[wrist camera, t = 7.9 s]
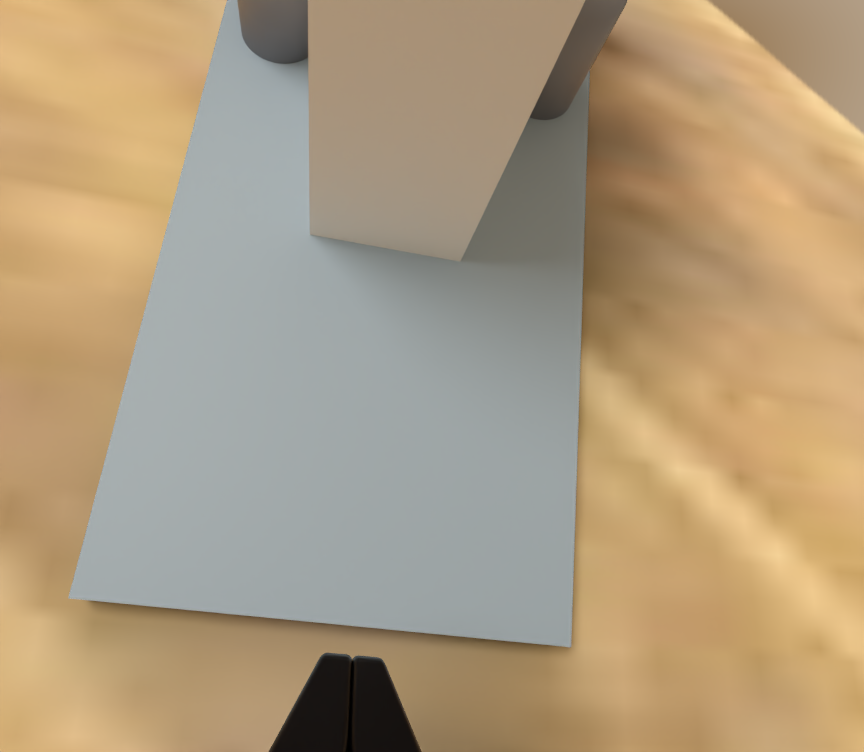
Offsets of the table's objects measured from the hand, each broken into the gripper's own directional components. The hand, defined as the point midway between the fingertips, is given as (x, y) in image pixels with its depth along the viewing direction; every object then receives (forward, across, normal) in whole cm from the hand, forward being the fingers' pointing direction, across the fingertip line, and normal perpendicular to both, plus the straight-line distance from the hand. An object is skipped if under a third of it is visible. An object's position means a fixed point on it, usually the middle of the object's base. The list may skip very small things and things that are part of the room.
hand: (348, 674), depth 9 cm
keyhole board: (+13, 0, -3) cm, 14 cm away
